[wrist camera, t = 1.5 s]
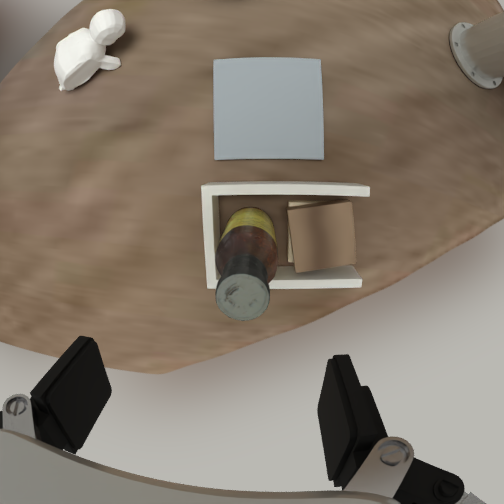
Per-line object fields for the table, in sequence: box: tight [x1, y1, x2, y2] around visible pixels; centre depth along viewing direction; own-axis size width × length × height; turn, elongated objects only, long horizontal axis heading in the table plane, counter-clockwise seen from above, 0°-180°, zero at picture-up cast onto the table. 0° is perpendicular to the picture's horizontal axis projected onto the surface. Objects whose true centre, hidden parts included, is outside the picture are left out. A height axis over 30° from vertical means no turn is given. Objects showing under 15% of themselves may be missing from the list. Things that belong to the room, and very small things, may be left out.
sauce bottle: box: [215, 207, 278, 321], centre depth 31 cm, size 6×6×20 cm
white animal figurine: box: [54, 9, 125, 91], centre depth 29 cm, size 9×8×15 cm
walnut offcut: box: [286, 199, 356, 273], centre depth 37 cm, size 8×8×2 cm
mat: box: [214, 57, 324, 160], centre depth 34 cm, size 14×14×1 cm
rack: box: [201, 181, 370, 289], centre depth 37 cm, size 20×13×5 cm, turn 91°
